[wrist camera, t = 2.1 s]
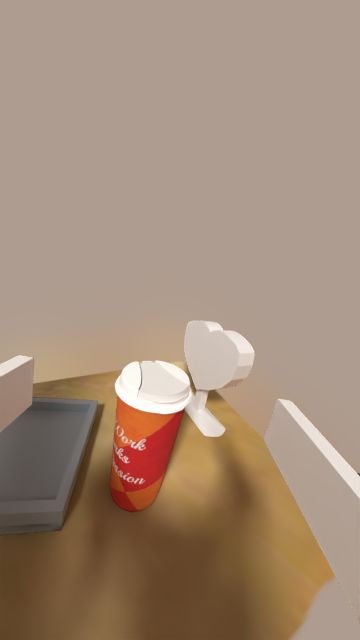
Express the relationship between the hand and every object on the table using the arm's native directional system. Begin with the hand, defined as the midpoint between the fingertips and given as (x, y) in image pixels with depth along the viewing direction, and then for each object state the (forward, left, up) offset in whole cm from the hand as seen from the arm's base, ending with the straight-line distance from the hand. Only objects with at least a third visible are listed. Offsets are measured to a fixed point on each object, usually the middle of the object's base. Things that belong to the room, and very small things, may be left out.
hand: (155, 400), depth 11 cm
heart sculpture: (+14, +24, -19) cm, 33 cm away
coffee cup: (+2, +10, -19) cm, 22 cm away
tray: (-13, +14, -19) cm, 27 cm away
